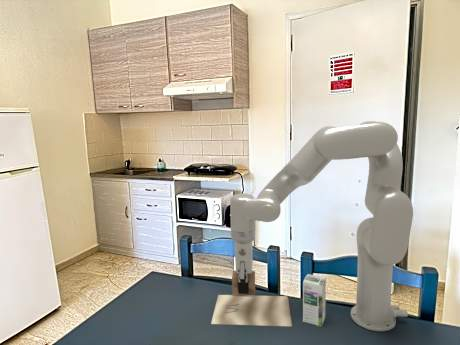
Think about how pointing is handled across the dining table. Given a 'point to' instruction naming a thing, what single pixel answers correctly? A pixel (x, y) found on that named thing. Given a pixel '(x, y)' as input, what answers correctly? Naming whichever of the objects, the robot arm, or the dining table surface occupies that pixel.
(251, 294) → the block
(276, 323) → the board
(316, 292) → the syrup box
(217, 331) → the dining table surface
